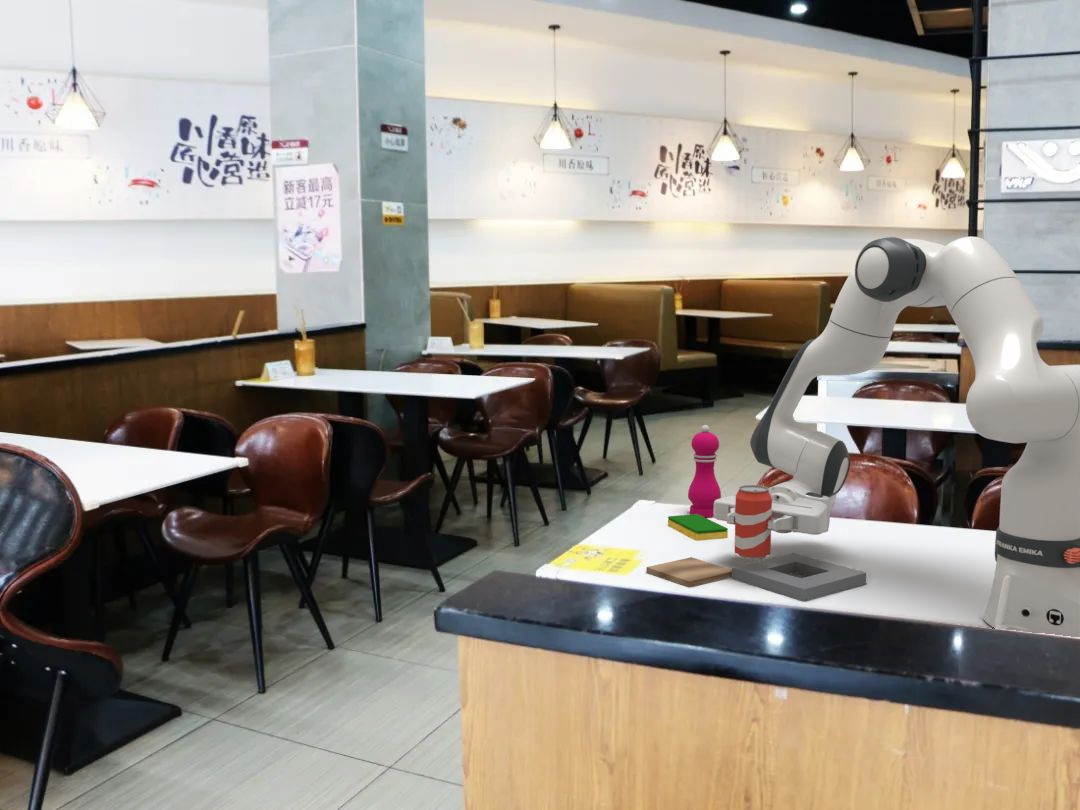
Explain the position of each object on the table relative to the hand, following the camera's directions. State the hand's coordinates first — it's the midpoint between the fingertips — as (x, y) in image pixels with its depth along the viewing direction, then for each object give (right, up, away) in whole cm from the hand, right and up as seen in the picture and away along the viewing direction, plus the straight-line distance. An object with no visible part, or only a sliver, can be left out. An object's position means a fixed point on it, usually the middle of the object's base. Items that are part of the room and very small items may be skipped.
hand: (750, 522), depth 178 cm
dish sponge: (-4, -6, +35) cm, 36 cm away
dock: (+8, -10, 0) cm, 13 cm away
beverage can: (+1, -6, +2) cm, 6 cm away
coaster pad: (-10, -10, +4) cm, 14 cm away
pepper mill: (0, -4, +50) cm, 51 cm away
